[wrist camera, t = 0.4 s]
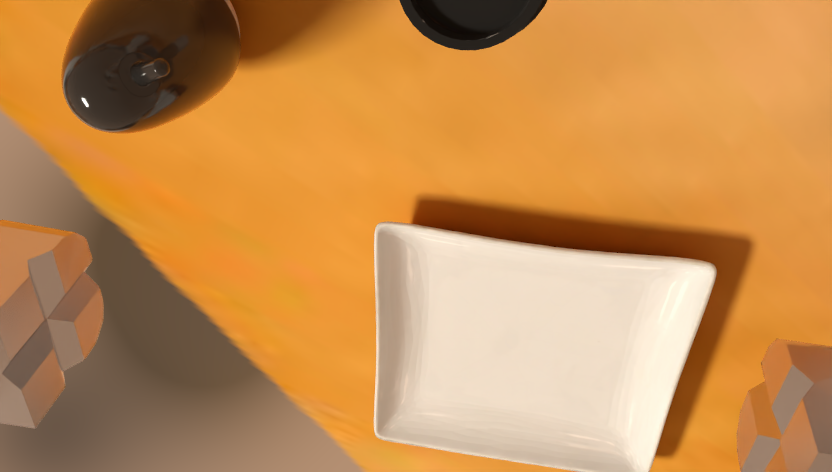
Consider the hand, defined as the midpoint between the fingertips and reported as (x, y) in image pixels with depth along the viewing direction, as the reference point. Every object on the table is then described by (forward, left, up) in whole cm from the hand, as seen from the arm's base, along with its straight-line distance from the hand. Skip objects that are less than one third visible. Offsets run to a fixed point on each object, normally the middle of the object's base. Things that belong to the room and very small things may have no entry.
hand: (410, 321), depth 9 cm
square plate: (+44, +7, -47) cm, 64 cm away
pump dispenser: (+18, -23, -46) cm, 55 cm away
